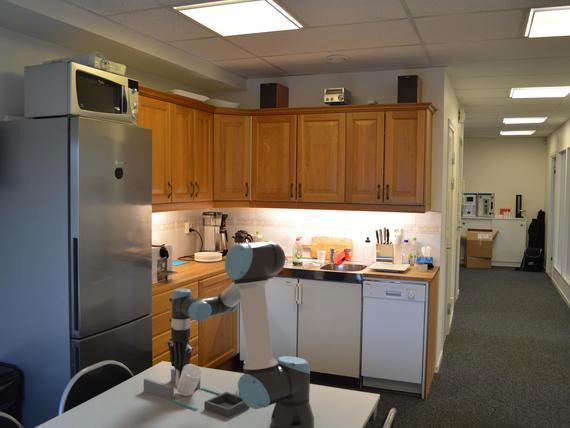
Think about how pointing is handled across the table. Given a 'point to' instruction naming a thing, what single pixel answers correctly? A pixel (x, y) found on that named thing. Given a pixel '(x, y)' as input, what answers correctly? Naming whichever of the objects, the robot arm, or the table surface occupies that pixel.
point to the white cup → (189, 379)
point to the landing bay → (193, 406)
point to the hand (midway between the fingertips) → (179, 384)
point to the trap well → (225, 404)
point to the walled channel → (162, 387)
